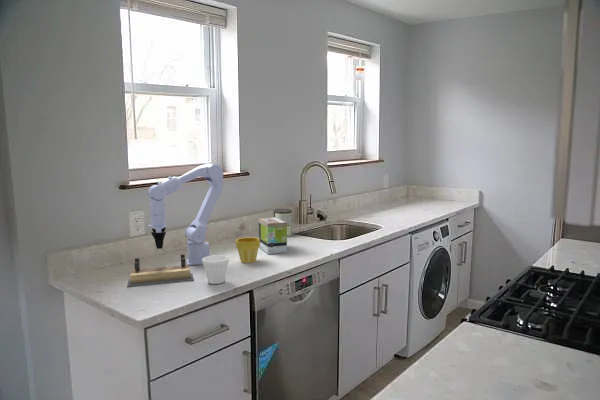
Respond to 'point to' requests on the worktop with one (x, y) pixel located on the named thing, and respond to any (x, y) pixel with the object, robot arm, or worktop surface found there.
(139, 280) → the brass rail
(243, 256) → the plant pot
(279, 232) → the tea box
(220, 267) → the cup
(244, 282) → the worktop surface
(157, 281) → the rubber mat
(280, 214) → the coffee can
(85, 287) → the worktop surface
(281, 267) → the worktop surface
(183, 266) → the hook rack
